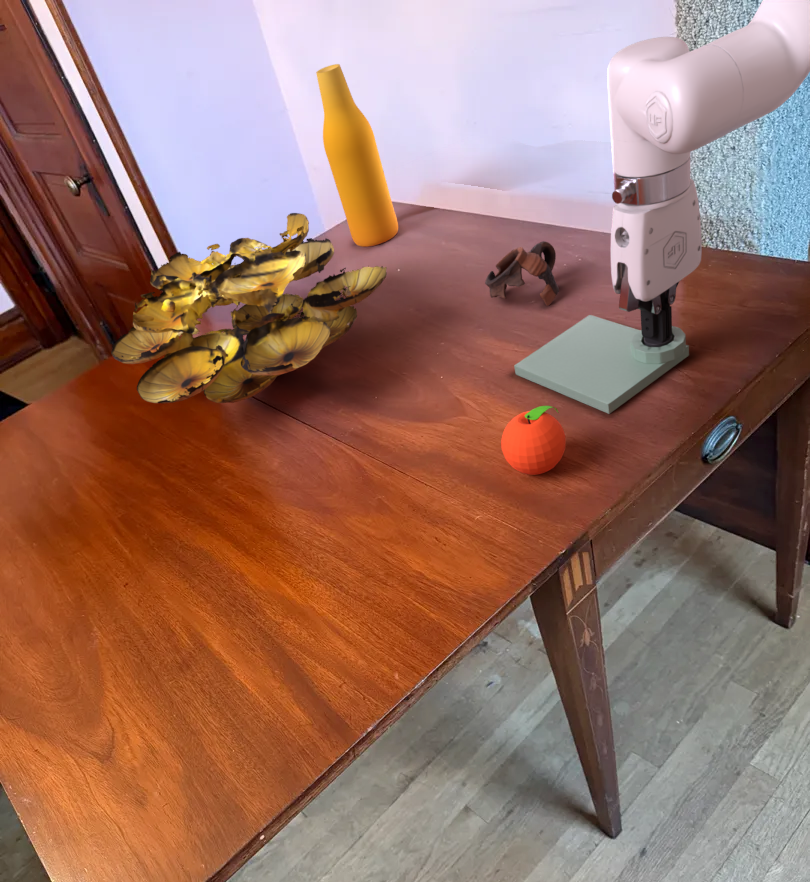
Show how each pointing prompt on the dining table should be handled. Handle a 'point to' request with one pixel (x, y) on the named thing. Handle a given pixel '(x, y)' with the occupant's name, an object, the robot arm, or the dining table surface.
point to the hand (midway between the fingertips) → (656, 336)
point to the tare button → (656, 342)
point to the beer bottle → (355, 162)
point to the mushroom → (240, 317)
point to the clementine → (533, 441)
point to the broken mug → (529, 261)
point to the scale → (601, 362)
